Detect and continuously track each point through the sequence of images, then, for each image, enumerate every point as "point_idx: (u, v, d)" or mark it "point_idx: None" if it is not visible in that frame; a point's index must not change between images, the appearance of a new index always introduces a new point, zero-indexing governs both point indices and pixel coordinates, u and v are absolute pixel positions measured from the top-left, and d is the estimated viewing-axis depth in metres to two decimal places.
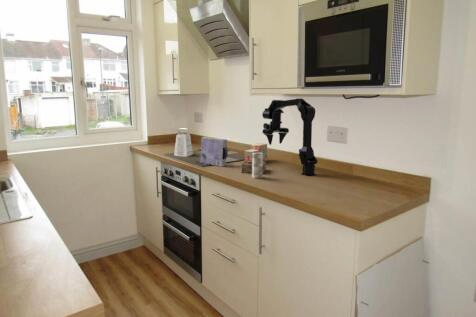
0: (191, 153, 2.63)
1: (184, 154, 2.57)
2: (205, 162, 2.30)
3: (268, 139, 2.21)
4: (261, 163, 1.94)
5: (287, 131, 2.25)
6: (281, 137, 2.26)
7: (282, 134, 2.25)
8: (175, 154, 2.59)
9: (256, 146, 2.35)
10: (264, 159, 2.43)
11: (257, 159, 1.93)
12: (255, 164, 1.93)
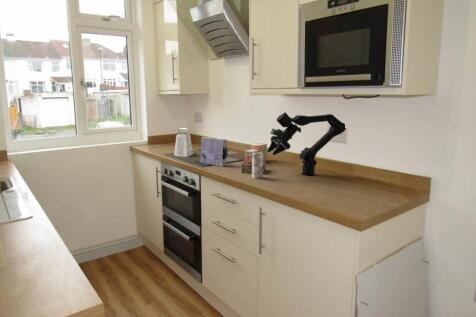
0: (191, 153, 2.63)
1: (184, 154, 2.57)
2: (205, 162, 2.30)
3: (277, 149, 1.92)
4: (261, 163, 1.94)
5: None
6: (273, 147, 2.02)
7: (275, 145, 2.03)
8: (175, 154, 2.59)
9: (256, 146, 2.35)
10: (264, 159, 2.43)
11: (257, 159, 1.93)
12: (255, 164, 1.93)
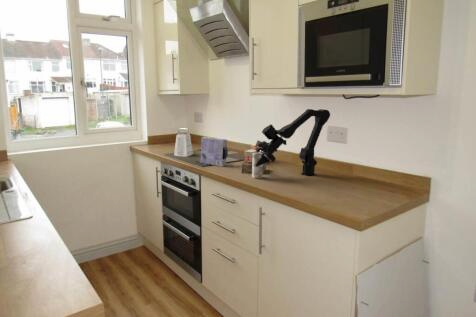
0: (191, 153, 2.63)
1: (184, 154, 2.57)
2: (205, 162, 2.30)
3: (260, 161, 1.92)
4: None
5: None
6: None
7: None
8: (175, 154, 2.59)
9: (256, 146, 2.34)
10: None
11: (257, 159, 1.92)
12: (255, 164, 1.93)
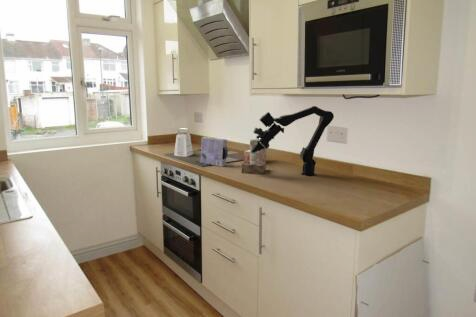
0: (191, 153, 2.63)
1: (184, 154, 2.57)
2: (205, 162, 2.30)
3: (256, 147, 1.98)
4: None
5: None
6: None
7: None
8: (175, 154, 2.59)
9: None
10: (263, 159, 2.42)
11: (253, 145, 1.99)
12: (251, 150, 1.99)
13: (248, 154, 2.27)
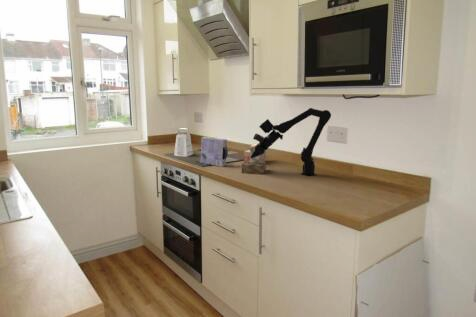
0: (191, 153, 2.63)
1: (184, 154, 2.57)
2: (205, 162, 2.30)
3: (254, 153, 2.04)
4: (257, 156, 2.08)
5: (266, 149, 2.16)
6: None
7: None
8: (175, 154, 2.59)
9: None
10: (263, 159, 2.42)
11: None
12: None
13: (248, 154, 2.27)
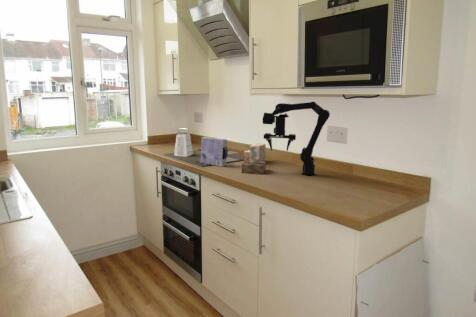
0: (191, 153, 2.63)
1: (184, 154, 2.57)
2: (205, 162, 2.30)
3: None
4: (257, 156, 2.08)
5: (292, 138, 2.03)
6: (287, 144, 2.06)
7: None
8: (175, 154, 2.59)
9: None
10: (263, 160, 2.41)
11: (253, 152, 2.08)
12: (251, 157, 2.09)
13: (248, 154, 2.26)
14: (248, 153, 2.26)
